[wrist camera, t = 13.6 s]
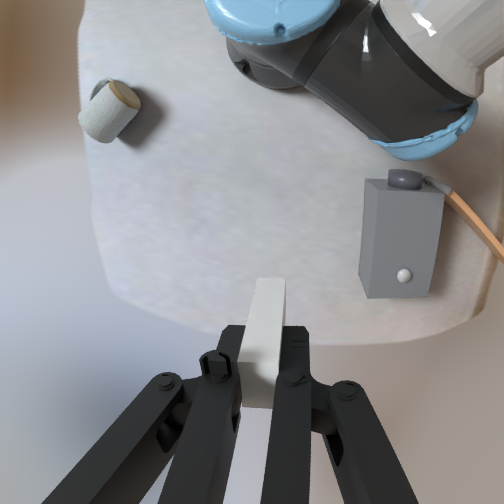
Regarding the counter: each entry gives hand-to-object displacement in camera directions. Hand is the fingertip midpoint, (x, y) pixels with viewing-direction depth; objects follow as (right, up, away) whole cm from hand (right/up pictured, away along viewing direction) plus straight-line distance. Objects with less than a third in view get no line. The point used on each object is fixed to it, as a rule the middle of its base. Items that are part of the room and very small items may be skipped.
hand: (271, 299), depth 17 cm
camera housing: (+21, +6, +30) cm, 37 cm away
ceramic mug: (-24, +27, +28) cm, 45 cm away
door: (+36, +8, +27) cm, 46 cm away
